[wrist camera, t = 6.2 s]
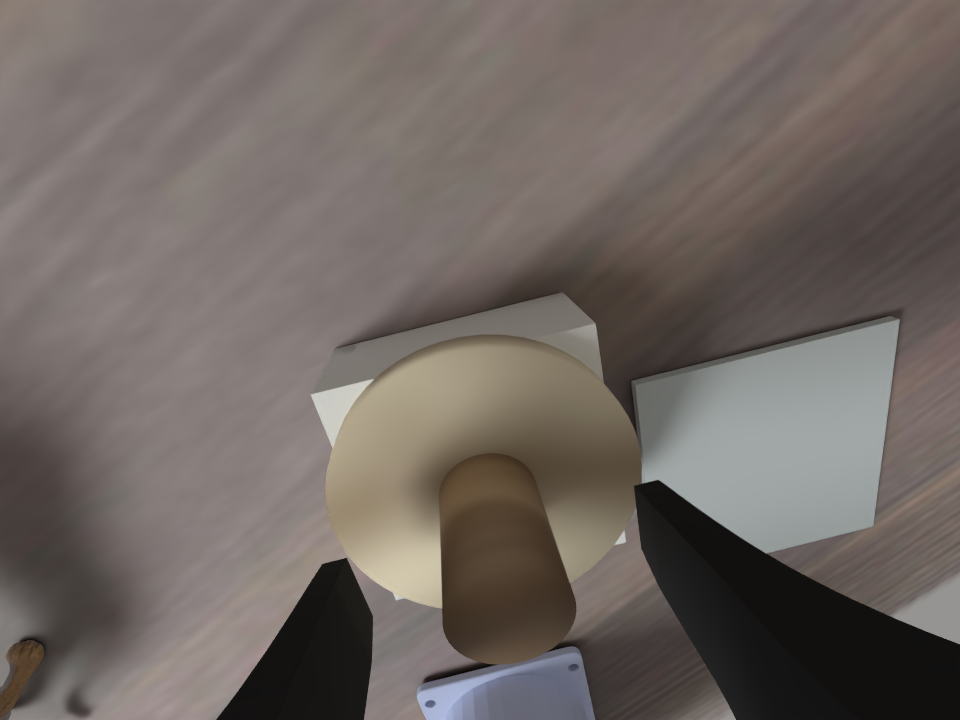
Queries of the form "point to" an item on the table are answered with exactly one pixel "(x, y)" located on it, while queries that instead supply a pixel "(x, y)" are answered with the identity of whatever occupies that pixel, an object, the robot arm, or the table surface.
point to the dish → (530, 319)
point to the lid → (485, 487)
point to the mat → (775, 434)
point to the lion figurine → (19, 673)
